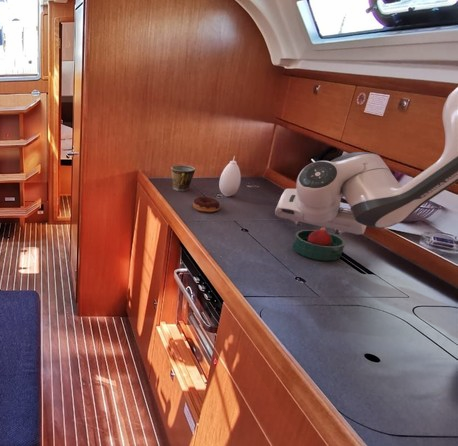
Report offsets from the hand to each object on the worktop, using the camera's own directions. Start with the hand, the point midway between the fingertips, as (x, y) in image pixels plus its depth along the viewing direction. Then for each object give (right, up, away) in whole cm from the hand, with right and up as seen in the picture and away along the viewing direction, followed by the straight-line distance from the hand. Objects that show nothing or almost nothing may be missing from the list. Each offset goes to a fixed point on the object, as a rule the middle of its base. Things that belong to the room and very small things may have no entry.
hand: (318, 227), depth 113 cm
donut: (-10, +7, +46) cm, 48 cm away
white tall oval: (+6, +13, +59) cm, 60 cm away
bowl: (+7, -8, +10) cm, 15 cm away
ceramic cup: (-11, +16, +68) cm, 71 cm away
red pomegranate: (+7, -8, +10) cm, 14 cm away
